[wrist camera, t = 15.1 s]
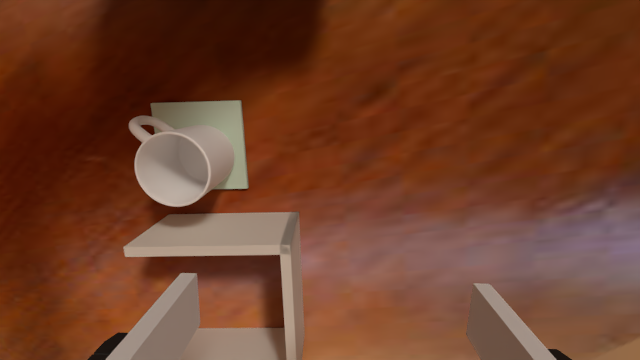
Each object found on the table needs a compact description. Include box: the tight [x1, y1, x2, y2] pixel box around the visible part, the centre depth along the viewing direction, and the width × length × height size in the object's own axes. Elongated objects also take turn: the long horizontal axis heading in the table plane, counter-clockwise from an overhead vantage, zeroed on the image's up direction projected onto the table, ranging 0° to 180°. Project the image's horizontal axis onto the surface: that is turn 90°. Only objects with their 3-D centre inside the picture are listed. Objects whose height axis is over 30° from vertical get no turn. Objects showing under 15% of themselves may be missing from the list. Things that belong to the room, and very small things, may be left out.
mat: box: [150, 100, 248, 189], centre depth 46 cm, size 12×12×1 cm
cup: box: [129, 116, 235, 207], centre depth 40 cm, size 8×12×10 cm
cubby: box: [124, 212, 304, 360], centre depth 45 cm, size 20×19×11 cm
